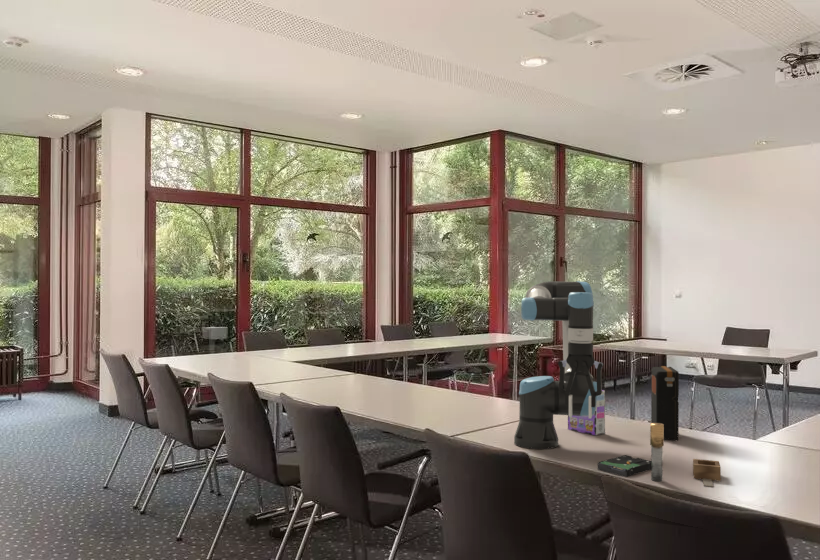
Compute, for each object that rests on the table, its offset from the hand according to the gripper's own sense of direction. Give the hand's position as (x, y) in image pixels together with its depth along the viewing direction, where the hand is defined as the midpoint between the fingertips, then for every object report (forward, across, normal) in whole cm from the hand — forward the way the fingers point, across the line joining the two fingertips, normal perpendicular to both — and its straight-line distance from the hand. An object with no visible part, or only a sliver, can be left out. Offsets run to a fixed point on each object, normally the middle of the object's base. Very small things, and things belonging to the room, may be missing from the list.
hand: (580, 416), depth 212 cm
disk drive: (+15, +14, 0) cm, 21 cm away
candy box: (+15, -4, +48) cm, 51 cm away
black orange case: (+15, +24, +52) cm, 59 cm away
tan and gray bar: (+15, +22, -9) cm, 28 cm away
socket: (+15, +36, 0) cm, 39 cm away
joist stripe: (+15, +36, 0) cm, 39 cm away
